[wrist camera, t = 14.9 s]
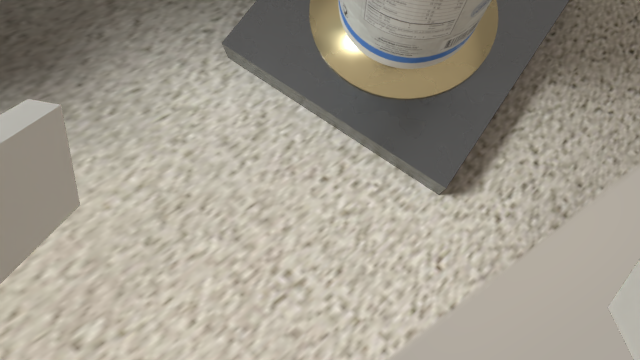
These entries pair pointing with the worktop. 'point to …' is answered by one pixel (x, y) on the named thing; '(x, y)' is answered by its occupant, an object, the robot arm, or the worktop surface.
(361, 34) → the supplement tub
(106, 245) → the worktop surface
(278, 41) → the arbor press
